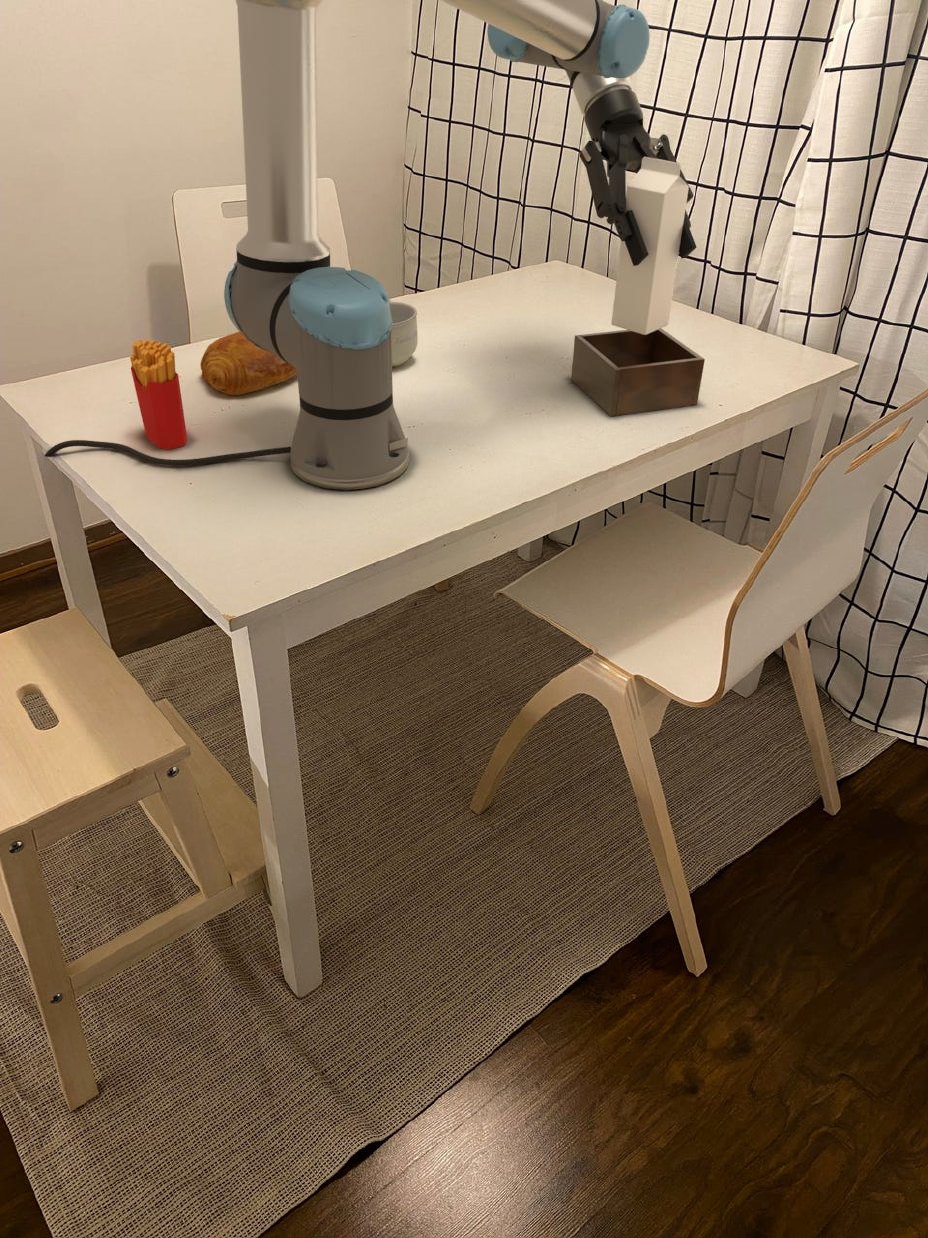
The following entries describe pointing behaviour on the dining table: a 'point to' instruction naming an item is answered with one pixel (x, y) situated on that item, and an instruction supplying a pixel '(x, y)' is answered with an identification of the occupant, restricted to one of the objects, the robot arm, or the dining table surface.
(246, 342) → the croissant
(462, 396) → the dining table surface
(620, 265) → the milk
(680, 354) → the caddy
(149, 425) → the french fries
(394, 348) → the teacup
